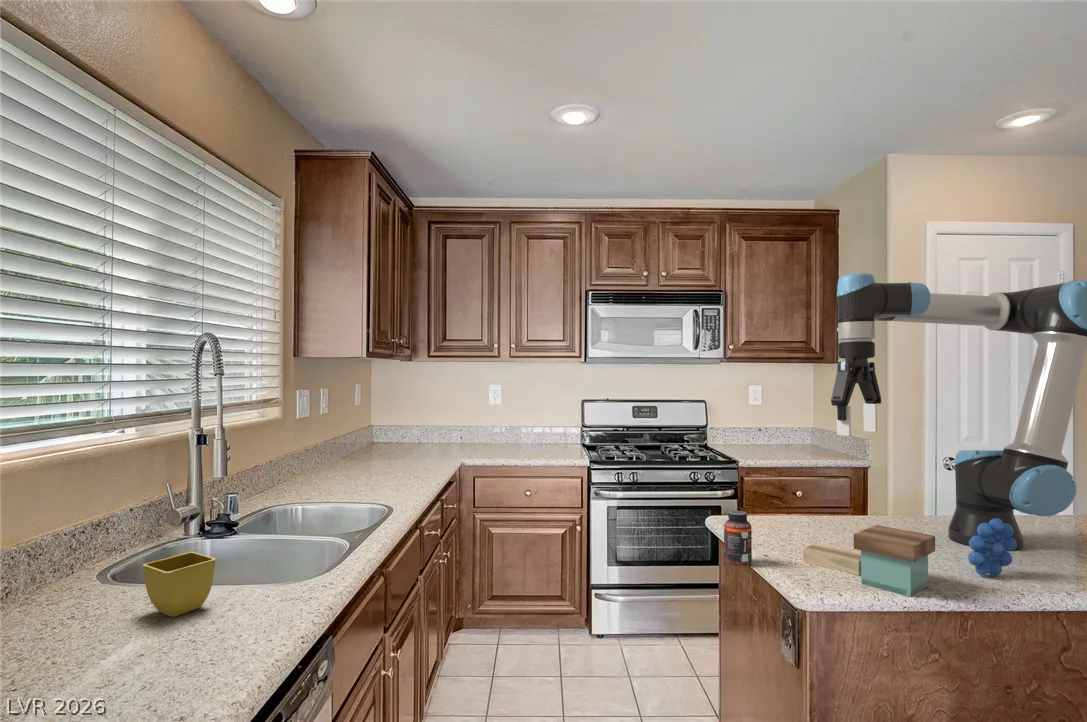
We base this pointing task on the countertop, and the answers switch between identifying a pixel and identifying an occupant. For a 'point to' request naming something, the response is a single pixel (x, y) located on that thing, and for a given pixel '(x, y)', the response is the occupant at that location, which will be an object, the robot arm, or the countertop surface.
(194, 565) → the flower pot
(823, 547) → the wooden block
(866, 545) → the lid
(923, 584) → the teal open box
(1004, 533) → the grapes
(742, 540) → the supplement bottle
